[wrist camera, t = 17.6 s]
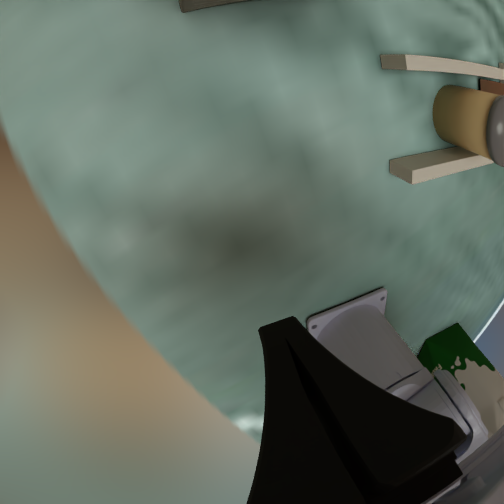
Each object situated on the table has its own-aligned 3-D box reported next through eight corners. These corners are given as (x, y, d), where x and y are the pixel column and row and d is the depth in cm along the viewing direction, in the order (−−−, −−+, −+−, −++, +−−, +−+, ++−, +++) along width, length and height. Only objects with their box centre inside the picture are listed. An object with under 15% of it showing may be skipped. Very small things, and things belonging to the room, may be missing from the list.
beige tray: (503, 153, 22) (545, 174, 17) (389, 181, 20) (447, 216, 15) (502, 63, 16) (550, 75, 11) (378, 44, 14) (447, 43, 9)
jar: (470, 135, 20) (522, 157, 15) (435, 150, 20) (492, 176, 15) (464, 80, 17) (521, 93, 12) (426, 88, 17) (490, 101, 12)
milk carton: (444, 353, 40) (507, 438, 23) (404, 375, 38) (469, 473, 22) (463, 315, 35) (541, 407, 18) (422, 337, 33) (505, 448, 17)
